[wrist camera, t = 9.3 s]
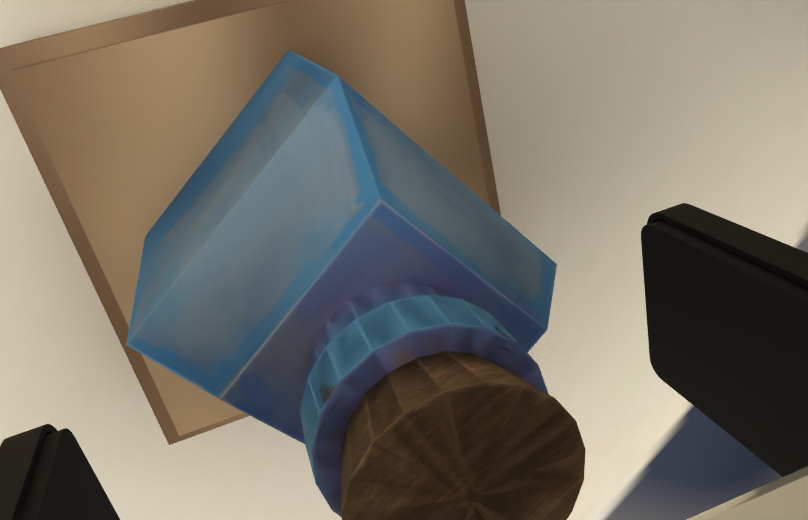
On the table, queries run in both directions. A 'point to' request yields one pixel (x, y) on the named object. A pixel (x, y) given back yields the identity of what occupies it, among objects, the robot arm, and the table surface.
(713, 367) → the robot arm
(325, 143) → the perfume bottle
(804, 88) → the table surface
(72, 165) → the pedestal
